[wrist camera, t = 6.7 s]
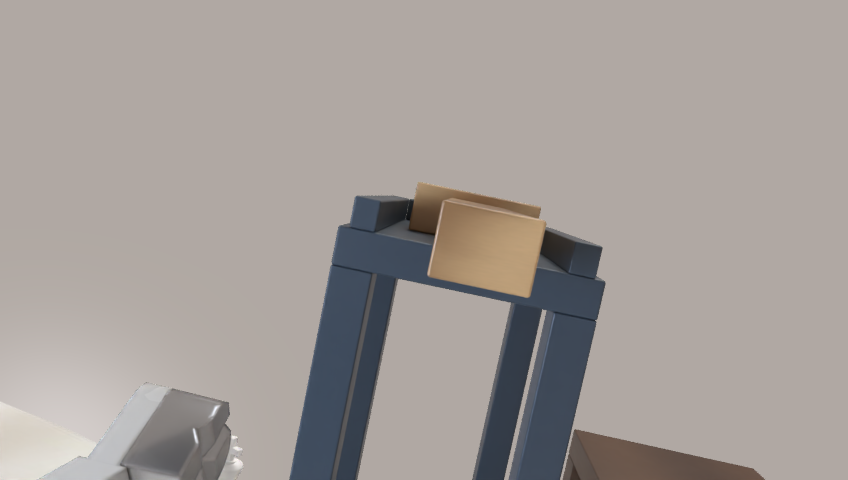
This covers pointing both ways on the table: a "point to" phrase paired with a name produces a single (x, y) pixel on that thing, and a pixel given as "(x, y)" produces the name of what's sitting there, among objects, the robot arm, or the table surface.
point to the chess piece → (232, 462)
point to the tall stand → (553, 371)
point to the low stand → (642, 462)
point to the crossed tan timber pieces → (479, 238)
